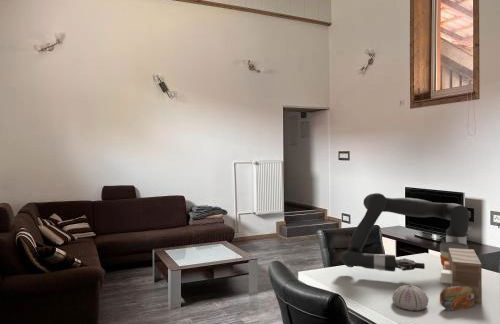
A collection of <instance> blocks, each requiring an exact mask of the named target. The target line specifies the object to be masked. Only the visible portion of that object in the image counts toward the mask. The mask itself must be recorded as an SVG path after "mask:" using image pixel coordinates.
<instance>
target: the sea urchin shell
mask: <svg viewBox="0 0 500 324" xmlns="http://www.w3.org/2000/svg"><path fill="white" fill-rule="evenodd" d="M391 299H392V303H393V304H394V305H395V306H397V307H399V308H401V309H404V310H408V311H416V312H417V311H422V310H424V309H426V308H427V307H428V304H429V301H430V300H429V297H428V295H427V294H426V293H425V292H424V291H423V290H422V289H421V288H419V287H417V286H415V285H413V284H405V285H401V286H399V287H397V289H396V290H394V292H393V294H392V296H391Z"/></svg>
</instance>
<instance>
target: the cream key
mask: <svg viewBox="0 0 500 324" xmlns="http://www.w3.org/2000/svg"><path fill="white" fill-rule="evenodd" d="M440 281H441V282H440V283H444V284H449V283H452V270H443V269H440Z"/></svg>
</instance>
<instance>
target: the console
mask: <svg viewBox="0 0 500 324" xmlns="http://www.w3.org/2000/svg"><path fill="white" fill-rule="evenodd" d="M449 263H450V270H452V283H448V285H449V287H454V286H460V285H465V286H469V287H471V288H473V289H474V291H475V294H476V300H475V303H474V304H477V305H482V304H483V301H482V300H483V299H482V297H483V295H482V291H483V290H482V286H483V284H482V283H483V282H482V277H483V276H482V275H483V274H482V270H483V269H482V267H483V266H482V262H481V260H480V259H479V257H478V255H477V254H476V252H475V249H471V248H470V249H469V248H468V249H458V248H449ZM474 304H473V305H474Z"/></svg>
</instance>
